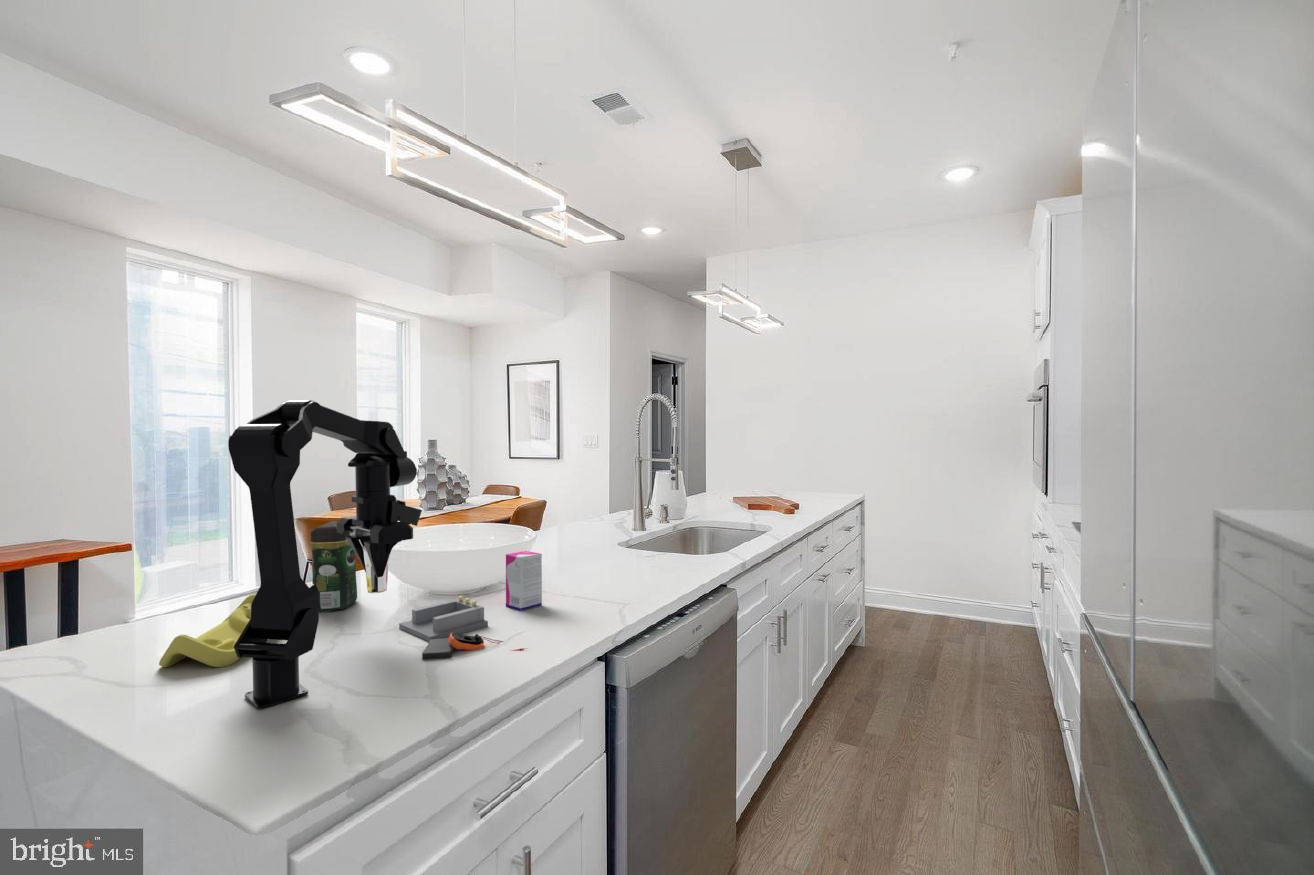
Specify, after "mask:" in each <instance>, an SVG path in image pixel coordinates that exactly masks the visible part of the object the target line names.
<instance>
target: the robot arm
mask: <svg viewBox="0 0 1314 875" xmlns="http://www.w3.org/2000/svg"><path fill="white" fill-rule="evenodd" d="M313 433H316V434H318V435H321V436H325V437H327V438H331V439H335V440H338V441H340V442H342V443H343V446H344V448H346V449H348V450H350V451H351V452H352V453H355V455H354V456H353V458H351V459H350V460H349V462H348V463H347V466H348V468H355V471H354V472H355V475H354V477H355V495H353V496H351V503H355V515H352V516H344V517H341V518H340V519H338V520H337V521H338V522H337V533H341V534H346V532H347V531H350V536H346V539H347V540H348V542H349V543H350V545H351V547H352V548H353V550H354V552H355V556H356V557H357V559H358V562H360V565H361V566H362V567H361V568H363V571H364V573H366V569H365V562H364V554H363V547H364V546H365V548H366V550H367V553H368V556H369V559H370V562H371V564H372V567H373V570H374V572H375V575H376V577H382V576H383V575H384V572H385V568H386V565H387V562H388V559H389V560H390V555H391V552H392V550H393V549H394V547H395V546H396V545H398V543H401V542H402V541H406V540H407V541H408V540H413V539H414V528H413V526H416V527H417V526H418V525H419V521H420V519H421V514H422V511H423V510H422V509H420V508H416V507H412V506H409V505H407V504H406V501H403V500H399V499H397V497H396V495H394V494H391V488H395V487H400V486H401V487H402V486H406V485H409V484H411V483H413V481H415V479H416V477H417V473H418V469H417V467H416V464H415V463H414V461H413V460H412V459H411V458H410V457H408V452H407V450H404V448H403V445H402V443H401V441H400V438H399V436H398V434H397V432H396V430H395V429H394V426H393V425H392V424H391V423H390V422H389V421H380V420H379V421H378V420H363V419H359V418H356V417H353V416H350V415H348V414H345V413H342V412H340V411H337V410H334V409H331V408H330V407H329V408H328V407H326V406H323V405H321V404H320V403H318V402H317V401H314V400H311V399H310V400H309V399H305V400H304V399H303V400H301V399H299V400H297V399H296V400H294V399H293V400H287V401H285V402H282V403H281V404H280V405H278V406H277V407H275V409H273V410H270V411H269V412H266V413H264V414H261V415H259V416H257V417H254V418H252V419H251V420H249V422H247V423H246V424H242V425H239V426H238V427H237V428H236V429H235V430H234V431H233V433H232V434H231V435H229V438H228V442H227V443H228V444H227V445H228V452H229V454H230V455H229V456H230V458H231V462H232V466H233V470H234V471H235V473H236V474H237V475H238V476H239V477H240V479H241V480H242V481H243V483H244V484H246V486H247V487H248V490H249V496H250V503H251V512H252V514H251V515H252V520H253V521H252V522H253V528H254V529H253V530H254V538H255V547H256V554H257V561H258V569H259V576H260V577H259V578H260V586H259V588H258V590H257V592H256V593H255V594H256V595H255V597H254V599H253V601H252V603H251V619H250V620H249V622H248V624H247V625H246V627H245V629H244V630H243V632H242V633H241V635H240V637H239V638H238V640H237V642H236V643H235V645H234V649H235V652H236V655H237V657H238V658H240V659H243V658H244V659H246V658H247V659H252V690H251V691H247V692H245V693H244V698H245V699H246V700H248V702H250V704H252V705H253V707H255V708H256V709H264V708H267V707H271V706H273V705H274V706H275V705H278V704H280V703H283V702H286V701H290V700H293V699H296V698H300V697H301V698H302V697H303V696H306V695H309V690H308V689H307V688H306V687H304V686H303V685H301V684H300V664H299V663H300V662H299V661H300V657H301V656H303V655H305V654H306V653H308V652H311V651H312V650H313V649H314V644H315V640H316V635H317V631H318V627H319V621H320V614H319V613H320V612H319V610H321V607H320V605H319V601H318V588H317V586H316V584H312V583H306V581H304V580H303V578H302V577H301V572H300V562H299V554H298V553H299V551H298V545H297V535H296V527H295V517H294V510H293V509H294V507H293V500H292V492H291V491H292V490H291V482H292V480H293V478H294V476H295V475H296V472H297V471H298V468H300V467H299V466H300V465H301V450H302V449H303V448H304V447H306V445H308V444H309V442H311V441H312V439H313ZM359 540H360V541H361V543H362V545H363V547H362V545H361V543H360V541H359ZM268 640H278V641H286V643H277V642H268Z"/></svg>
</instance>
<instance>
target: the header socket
mask: <svg viewBox="0 0 1314 875" xmlns="http://www.w3.org/2000/svg"><path fill="white" fill-rule="evenodd" d="M470 601H471V600H470V598H469V597H467V598H465V600H464V596H463V595H459V596H458V598H455V599H451V600H448V601H447V600H446V601H443V602H438V603H435V604H434V603H433V604H430V605H426V606H425V605H424V606H421V607H415V608H413V609H411V620H408V621H402V622H399V624H398V625H399V627H398V629H399V630H402V631H404V632H406V633H409V634H410V635H413V636H415V637H417V638H420V639H422V640H424V641H426V642H428V643H429V641H430V640H431V639H441V638H449V636H450V634H451V633H457V634H461V635H463V634H466V633H469V632H472V631H476V630H479V629H484V628H485V627H488V626H489V621H488V620H486V619H485V606H482V605H480V604H477V600H472V602H470Z"/></svg>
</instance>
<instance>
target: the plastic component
mask: <svg viewBox="0 0 1314 875" xmlns="http://www.w3.org/2000/svg"><path fill="white" fill-rule="evenodd" d="M255 595H256V593H253V594H250V595H248V596H246V598H245V599H244V600H243V601H242V602H241V603H239V605H238V606H237V607H236V608H235V609H234V610H233V611H231V613H230V615H228V617H227V618H225V619H224V620H223V621H222V622H221V623H219V624H217V625H216V626H214V627H212V628H211V629H209V630H207V631H206V632H204V633H202V634H201V635H199V636H197V637H196V638H195V637H192V636H190V635H187V634H179V635H177V636H175V637H174V638H173V640H172V641H171V642H170V644H169V646H168V647H167V649H166V650H165V652H164V653H163V655H162V657H161V658H160V660H159V662H158V665H159V666H160V667H162V668H169V667H172V666H173V665H175V664H177V663H178V662H180V661H182V660H183V659H185V658H187V657H188V658H191V659H193V660H195V661H198V662H200V663H203V664H205V665H207V666H209V667H210V666H211V667H212V668H213V667H214V668H223V667H228V666H230V665H233V664H234V663H235V662H236V661H238V660H240V659H241V658H238V657H237V655H236V652H235V649H234V645H235V643H236V642H237V640H238V638H239V637H240V635H241V633H242V632H243V630H244V629H245V627H246V625H247V624H248V622H249V620H250V619H251V603H252V601H253V599H254V597H255Z"/></svg>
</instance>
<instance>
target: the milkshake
mask: <svg viewBox="0 0 1314 875" xmlns="http://www.w3.org/2000/svg"><path fill="white" fill-rule="evenodd" d="M359 541H360V540H359ZM360 543H361V541H360ZM361 545H362V543H361ZM362 547H363V545H362ZM363 554H364V562H365V569H366V572H365V578H366V589H367V593H369V594H380V593H385V592H387V591H388V580H389V578H388V576H389V561H390V558H389V559H388V562H387V565H386V568H385V572H384V575H383V576H382V577H376V575H375V572H374V570H373V567H372V564H371V562H370V559H369V556H368V553H367V550H366V548H365V546H364V547H363Z"/></svg>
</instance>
